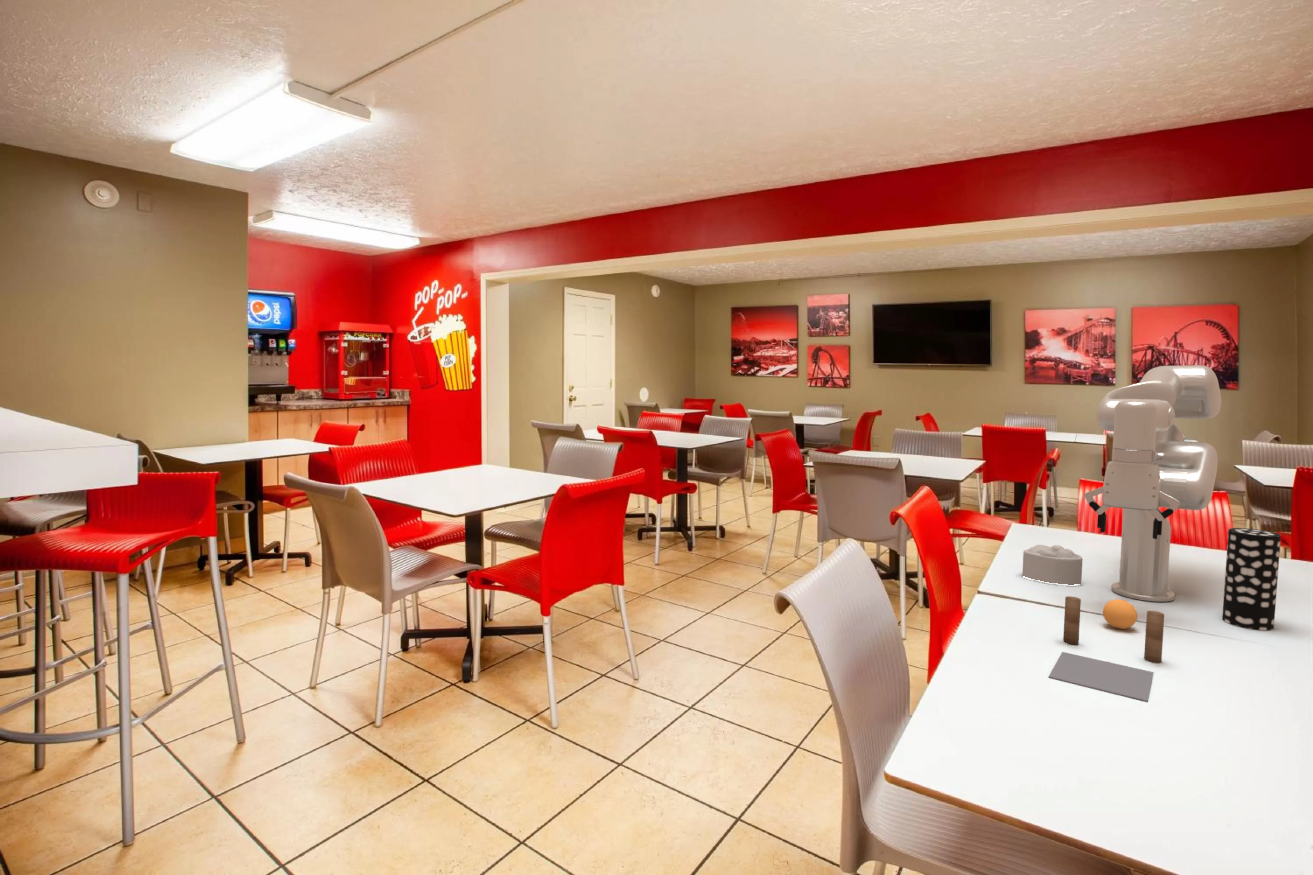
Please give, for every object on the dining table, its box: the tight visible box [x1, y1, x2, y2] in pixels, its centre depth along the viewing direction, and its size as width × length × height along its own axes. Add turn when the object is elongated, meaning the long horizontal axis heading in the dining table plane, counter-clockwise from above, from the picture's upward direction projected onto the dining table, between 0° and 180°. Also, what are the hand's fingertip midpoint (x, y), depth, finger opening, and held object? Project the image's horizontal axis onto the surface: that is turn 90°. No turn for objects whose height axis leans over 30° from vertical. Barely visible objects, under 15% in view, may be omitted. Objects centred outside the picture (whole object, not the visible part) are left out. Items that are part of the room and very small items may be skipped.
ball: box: [1102, 598, 1138, 630], centre depth 139 cm, size 6×6×6 cm
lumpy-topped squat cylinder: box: [1021, 544, 1083, 585], centre depth 174 cm, size 10×13×9 cm
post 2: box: [1143, 610, 1165, 664], centre depth 123 cm, size 3×3×9 cm
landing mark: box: [1048, 651, 1154, 703], centre depth 117 cm, size 14×14×1 cm
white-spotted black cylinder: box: [1221, 527, 1282, 631], centre depth 141 cm, size 8×8×20 cm
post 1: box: [1062, 595, 1082, 646], centre depth 131 cm, size 3×3×9 cm
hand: (1128, 534), depth 145 cm, fingers open, 9 cm apart
